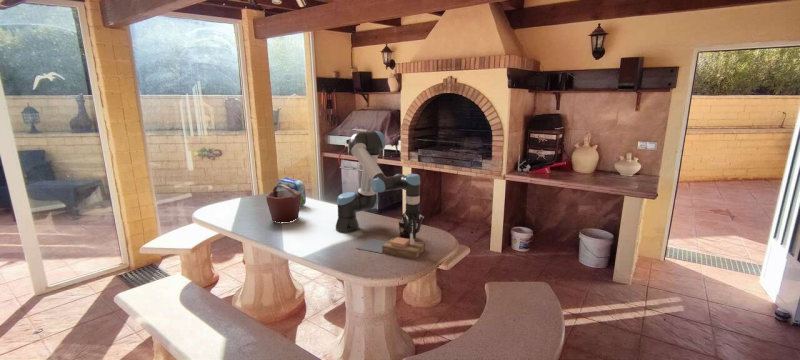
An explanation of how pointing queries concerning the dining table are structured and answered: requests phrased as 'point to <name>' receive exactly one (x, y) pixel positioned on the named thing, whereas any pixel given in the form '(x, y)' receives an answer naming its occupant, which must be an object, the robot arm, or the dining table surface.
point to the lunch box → (293, 187)
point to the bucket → (284, 204)
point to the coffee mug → (403, 229)
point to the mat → (372, 245)
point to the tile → (400, 242)
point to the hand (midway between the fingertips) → (412, 243)
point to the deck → (404, 249)
